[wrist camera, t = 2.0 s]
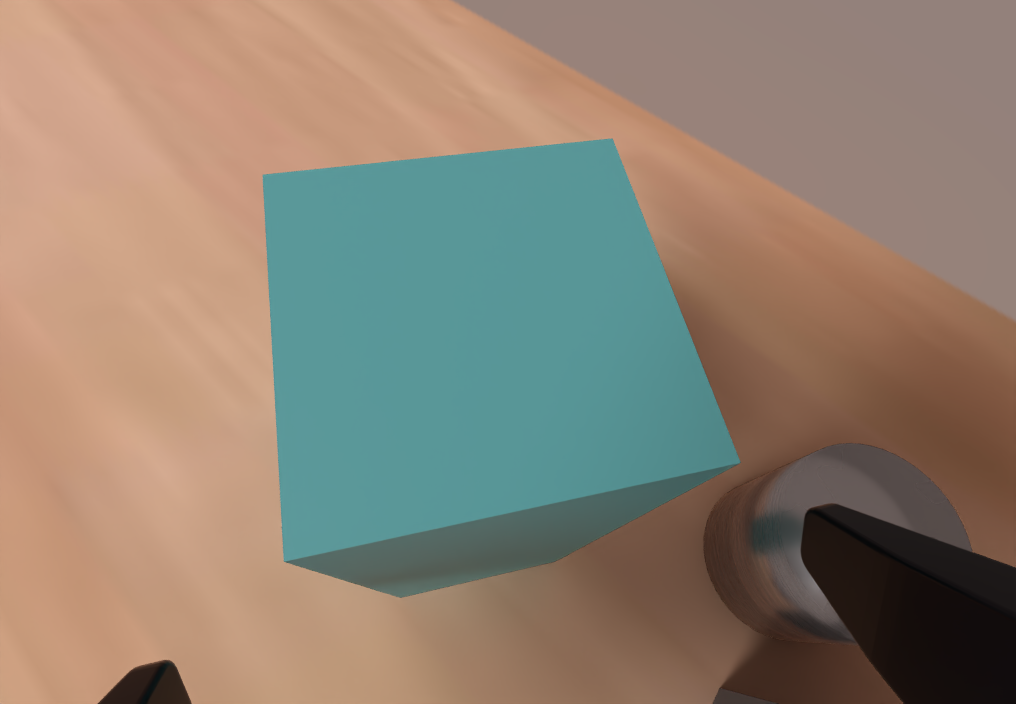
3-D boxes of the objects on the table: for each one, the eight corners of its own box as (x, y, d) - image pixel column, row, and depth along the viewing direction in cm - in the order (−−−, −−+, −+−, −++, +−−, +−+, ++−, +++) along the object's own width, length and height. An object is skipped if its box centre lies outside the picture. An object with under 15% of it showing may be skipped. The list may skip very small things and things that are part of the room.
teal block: (555, 561, 18) (740, 462, 6) (400, 597, 17) (284, 561, 6) (520, 416, 20) (612, 138, 8) (380, 442, 19) (262, 174, 8)
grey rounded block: (877, 568, 19) (1010, 553, 14) (789, 678, 17) (907, 699, 13) (765, 454, 20) (853, 408, 16) (673, 545, 19) (742, 522, 14)
